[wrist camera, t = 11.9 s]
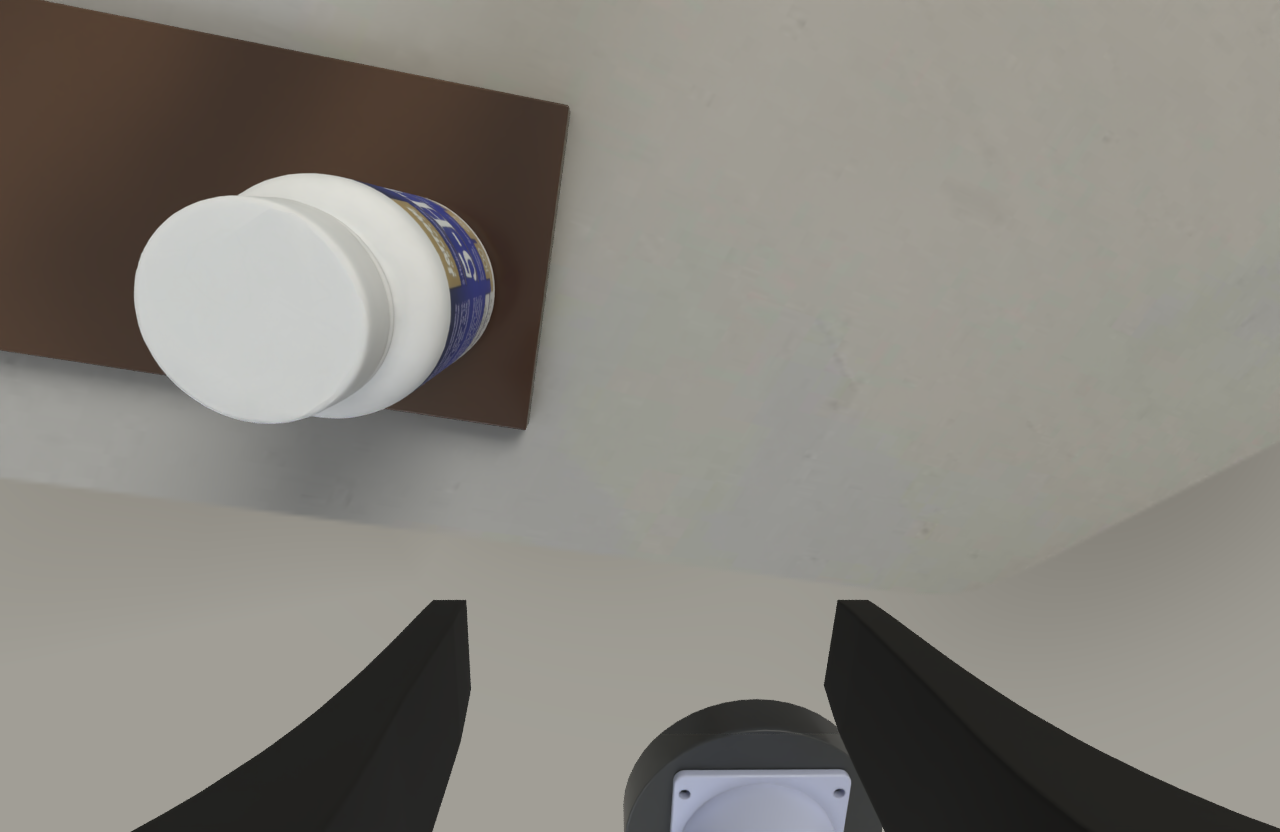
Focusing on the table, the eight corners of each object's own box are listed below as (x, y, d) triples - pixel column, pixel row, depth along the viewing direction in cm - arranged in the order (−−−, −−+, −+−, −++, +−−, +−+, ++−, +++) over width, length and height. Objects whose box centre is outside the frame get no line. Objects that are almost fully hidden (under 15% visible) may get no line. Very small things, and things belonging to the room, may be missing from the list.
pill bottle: (527, 254, 19) (462, 266, 11) (449, 397, 20) (334, 510, 12) (366, 156, 18) (156, 85, 10) (293, 312, 20) (47, 369, 11)
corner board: (570, 110, 19) (569, 105, 18) (528, 424, 22) (525, 430, 21) (-156, -34, 17) (-191, -47, 17) (-108, 326, 20) (-137, 329, 19)
